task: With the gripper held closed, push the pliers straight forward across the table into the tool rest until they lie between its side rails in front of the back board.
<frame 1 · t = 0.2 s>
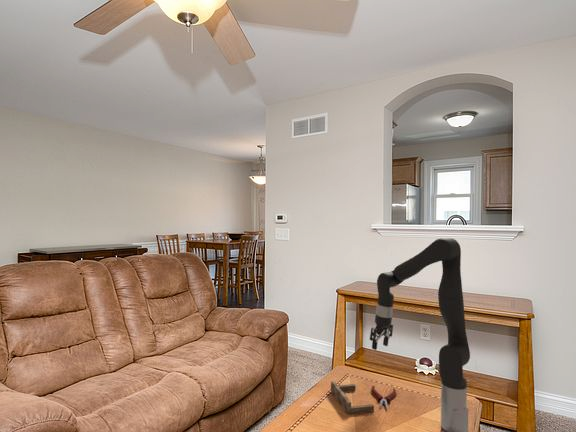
hand: (379, 347, 169), 22 cm above the table, tool pointing down, fingers open, 8 cm apart
tool rest: (352, 400, 162), on the table
pliers: (380, 399, 165), on the table
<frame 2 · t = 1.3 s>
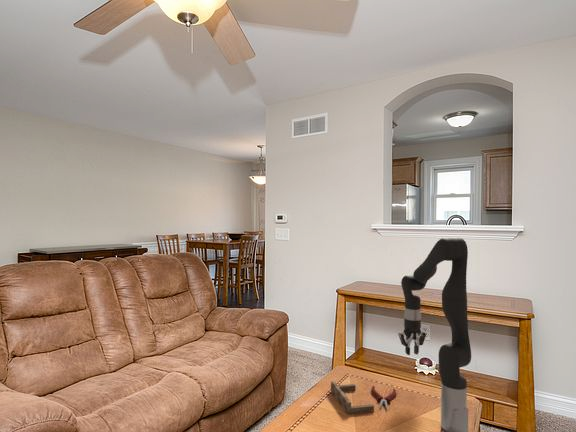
hand: (412, 354, 169), 19 cm above the table, tool pointing down, fingers open, 3 cm apart
nothing on the table moved.
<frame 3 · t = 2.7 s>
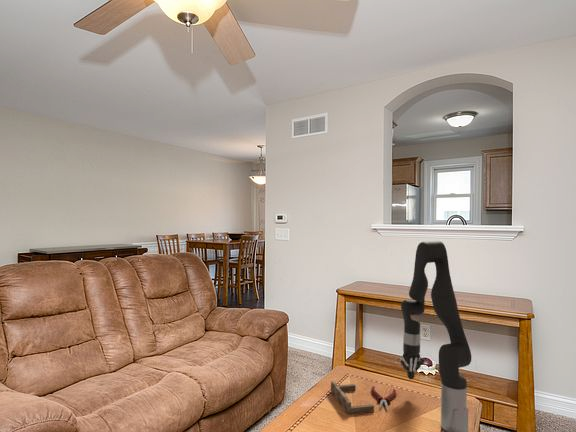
hand: (410, 378, 169), 8 cm above the table, tool pointing down, fingers closed
nothing on the table moved.
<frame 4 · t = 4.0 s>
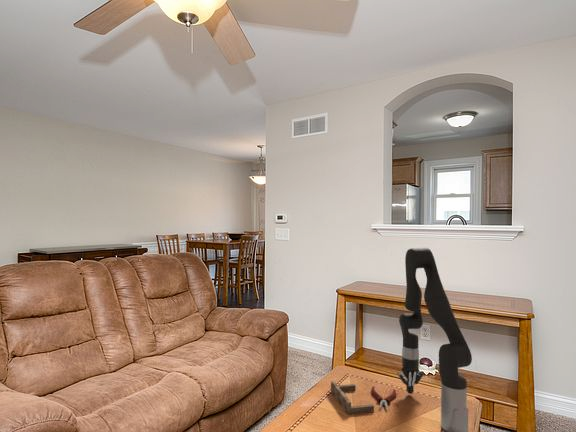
hand: (410, 393, 168), 1 cm above the table, tool pointing down, fingers closed
nothing on the table moved.
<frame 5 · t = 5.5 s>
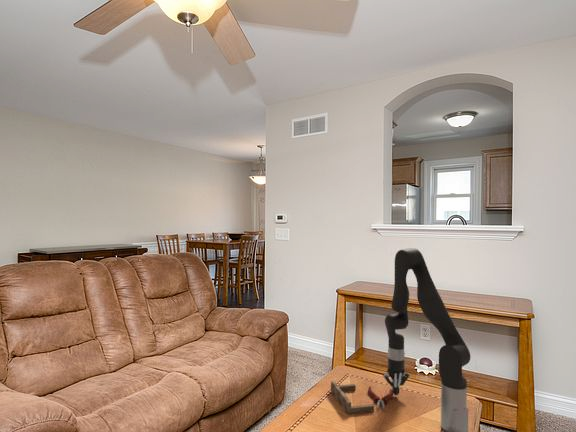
hand: (395, 394, 166), 1 cm above the table, tool pointing down, fingers closed
pliers: (377, 400, 164), on the table
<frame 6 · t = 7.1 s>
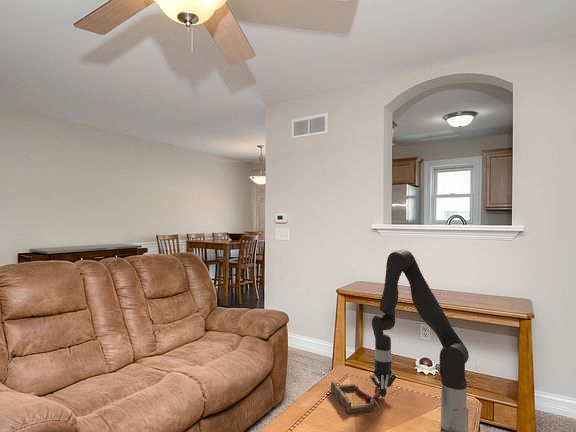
hand: (382, 395, 165), 1 cm above the table, tool pointing down, fingers closed
pliers: (367, 399, 164), on the table, touching gripper, tool rest
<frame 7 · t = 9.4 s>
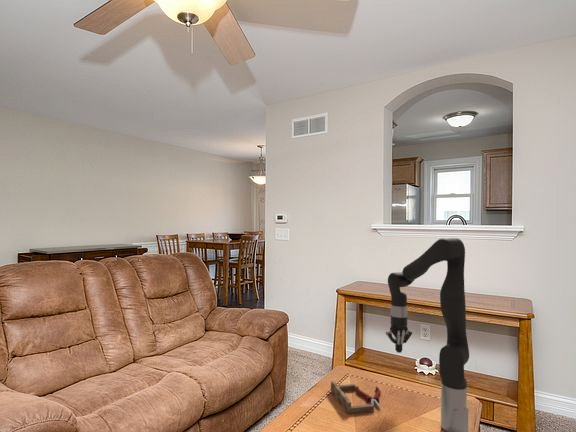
hand: (398, 352, 167), 21 cm above the table, tool pointing down, fingers closed
pliers: (367, 400, 164), on the table
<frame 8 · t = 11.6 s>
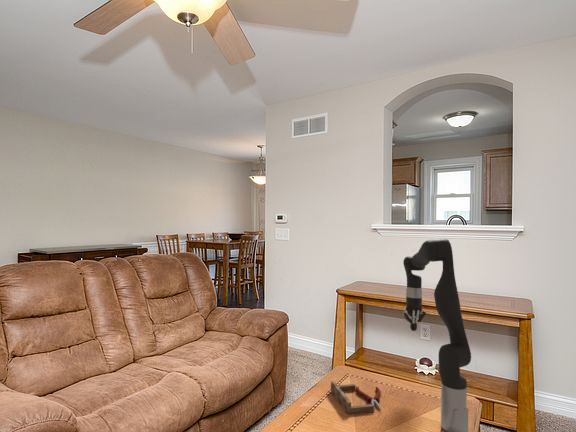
hand: (413, 330, 180), 27 cm above the table, tool pointing down, fingers closed
nothing on the table moved.
at the end: pliers inside the target area (3.0 cm from its centre), on the table; pliers moved 6.1 cm from its start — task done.
